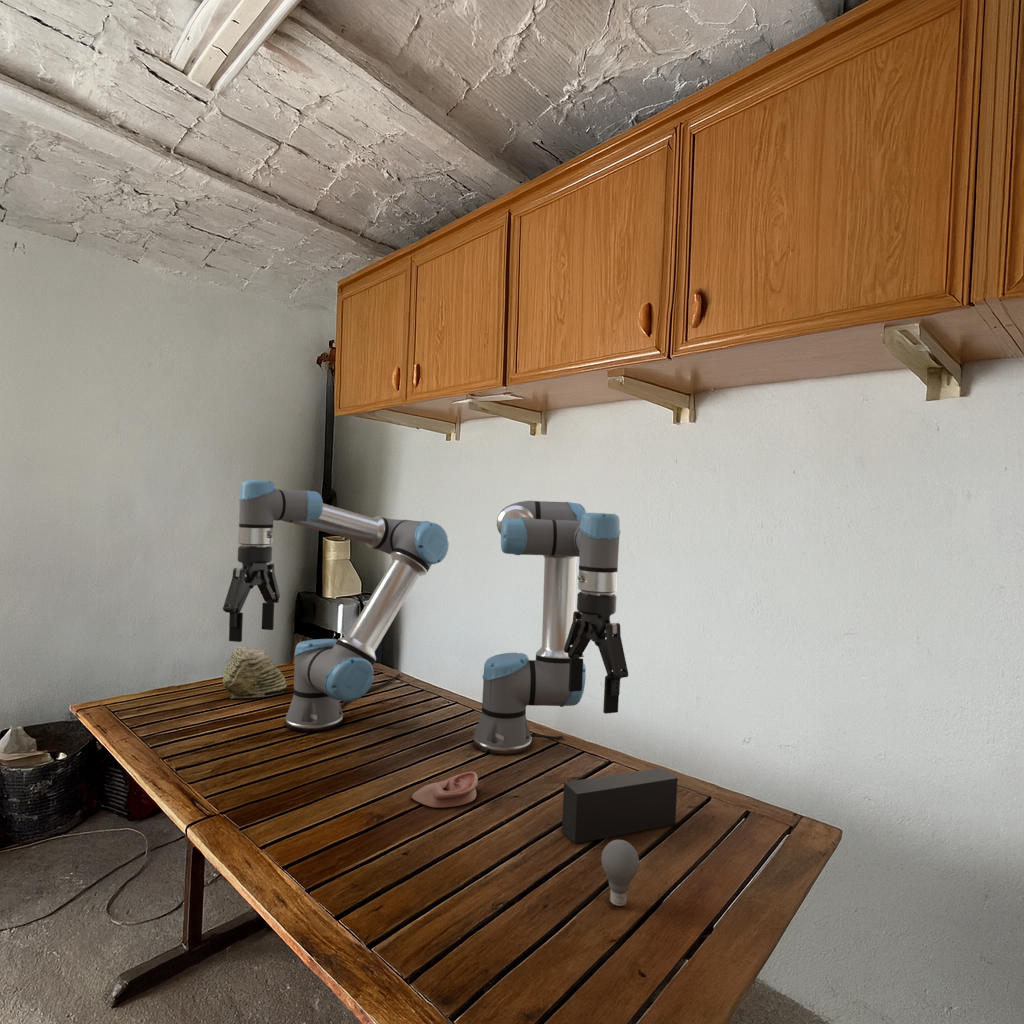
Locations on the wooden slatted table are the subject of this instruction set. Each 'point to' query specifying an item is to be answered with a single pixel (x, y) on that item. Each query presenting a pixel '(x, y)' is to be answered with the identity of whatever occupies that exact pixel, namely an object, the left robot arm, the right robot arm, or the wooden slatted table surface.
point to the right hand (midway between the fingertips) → (591, 701)
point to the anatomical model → (449, 791)
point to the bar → (618, 804)
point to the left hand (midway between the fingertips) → (252, 635)
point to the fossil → (252, 674)
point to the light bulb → (619, 868)
